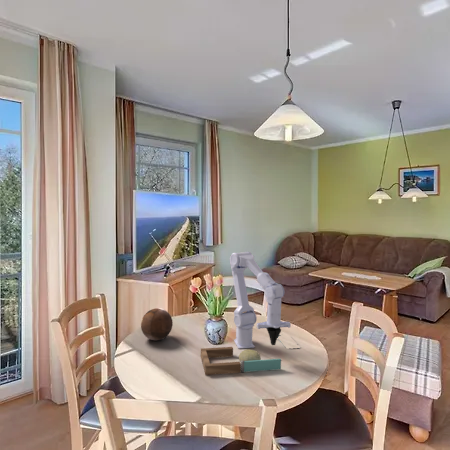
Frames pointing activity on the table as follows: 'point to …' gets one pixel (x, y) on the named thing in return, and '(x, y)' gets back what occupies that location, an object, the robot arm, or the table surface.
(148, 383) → the table surface
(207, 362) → the bay
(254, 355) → the sea urchin shell
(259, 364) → the teal plank
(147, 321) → the wooden sphere
